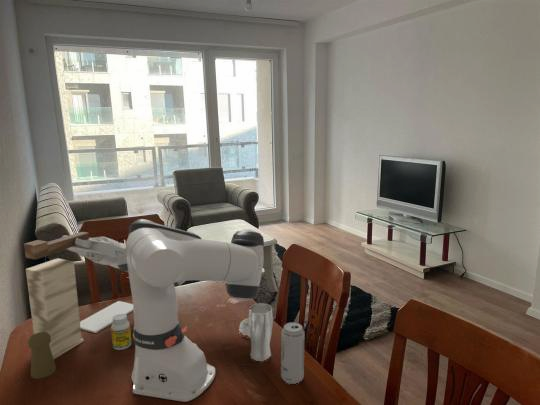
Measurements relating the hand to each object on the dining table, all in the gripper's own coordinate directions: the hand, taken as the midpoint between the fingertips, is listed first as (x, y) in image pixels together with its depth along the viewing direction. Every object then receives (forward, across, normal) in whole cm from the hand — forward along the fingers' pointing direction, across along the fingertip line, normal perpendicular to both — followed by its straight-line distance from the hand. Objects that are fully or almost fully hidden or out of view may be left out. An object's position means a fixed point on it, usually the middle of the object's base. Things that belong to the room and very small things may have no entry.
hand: (69, 240), depth 117 cm
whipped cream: (-36, -49, -16) cm, 63 cm away
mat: (-27, +1, -21) cm, 34 cm away
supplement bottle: (-17, -17, -27) cm, 36 cm away
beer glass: (-27, -58, -21) cm, 67 cm away
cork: (-1, -7, -36) cm, 37 cm away
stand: (-10, 0, -31) cm, 32 cm away
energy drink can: (-22, -70, -24) cm, 77 cm away
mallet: (+2, 0, -3) cm, 4 cm away
